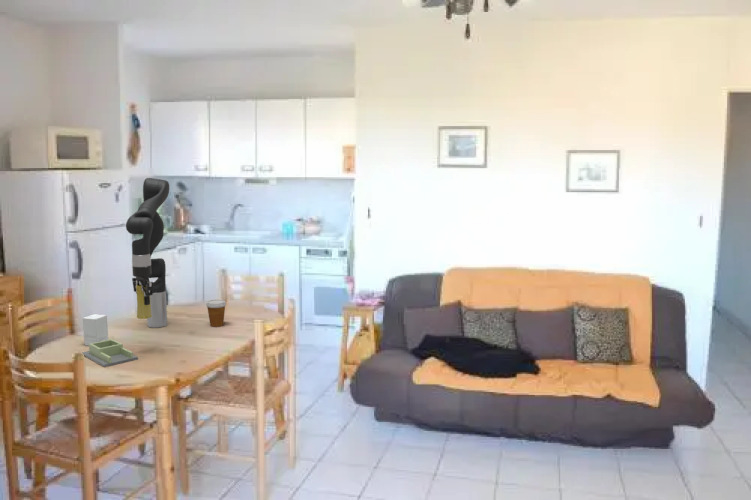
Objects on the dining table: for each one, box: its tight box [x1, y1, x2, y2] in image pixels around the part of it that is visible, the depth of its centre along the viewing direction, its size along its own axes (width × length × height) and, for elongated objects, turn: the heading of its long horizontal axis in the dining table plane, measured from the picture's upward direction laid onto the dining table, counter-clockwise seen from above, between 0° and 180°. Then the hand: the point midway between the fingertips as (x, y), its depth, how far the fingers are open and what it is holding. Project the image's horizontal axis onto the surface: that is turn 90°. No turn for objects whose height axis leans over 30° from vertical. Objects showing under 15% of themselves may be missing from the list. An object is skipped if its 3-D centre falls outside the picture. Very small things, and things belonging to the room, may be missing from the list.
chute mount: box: [81, 338, 139, 368], centre depth 276 cm, size 22×14×5 cm, turn 46°
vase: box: [136, 285, 152, 320], centre depth 280 cm, size 6×6×14 cm
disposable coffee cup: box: [206, 299, 227, 328], centre depth 325 cm, size 10×10×12 cm
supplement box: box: [82, 313, 109, 347], centre depth 294 cm, size 7×7×13 cm
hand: (143, 303), depth 281 cm, fingers closed on vase, 5 cm apart
